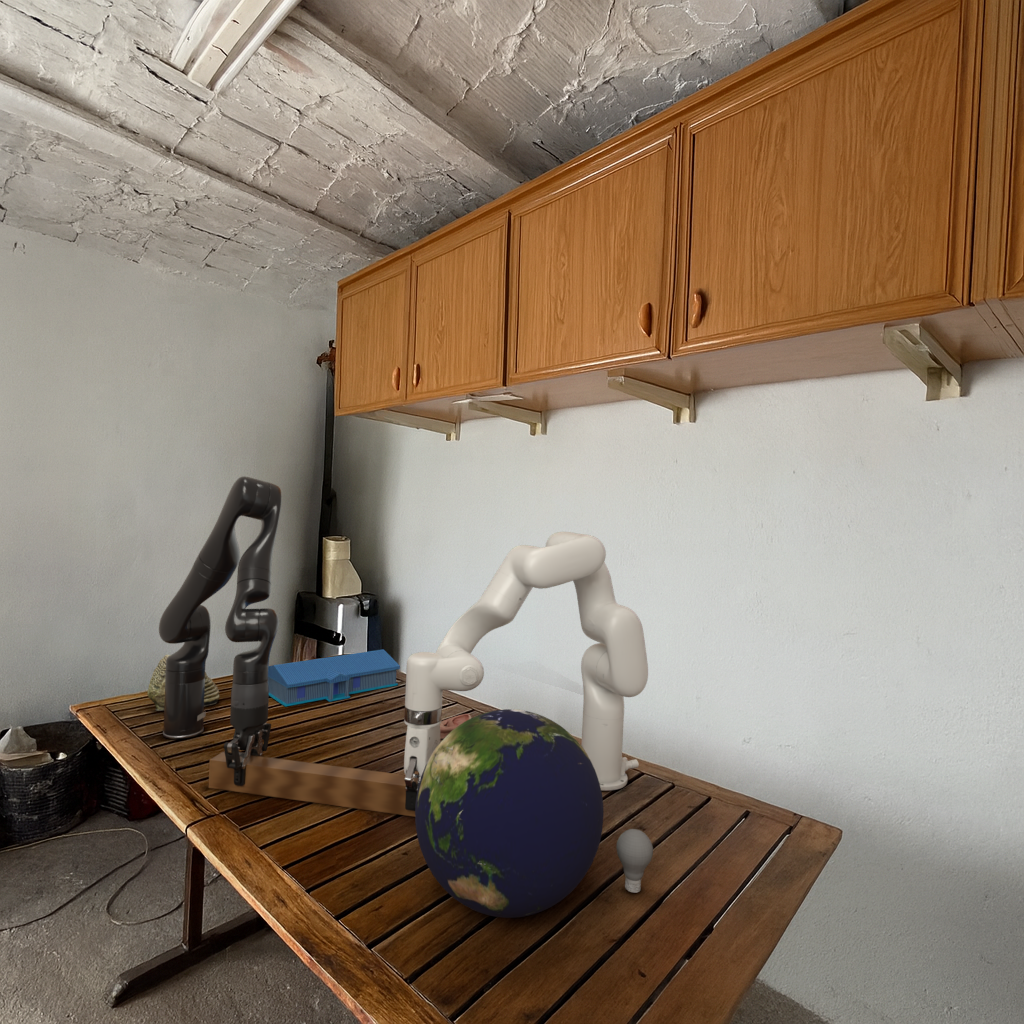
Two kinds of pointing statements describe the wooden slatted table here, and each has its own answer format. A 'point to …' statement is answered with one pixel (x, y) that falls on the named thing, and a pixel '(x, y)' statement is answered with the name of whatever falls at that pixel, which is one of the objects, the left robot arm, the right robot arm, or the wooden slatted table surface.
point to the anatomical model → (452, 724)
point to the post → (315, 783)
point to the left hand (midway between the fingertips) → (247, 779)
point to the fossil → (158, 687)
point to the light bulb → (634, 857)
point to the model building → (331, 677)
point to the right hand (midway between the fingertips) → (419, 800)
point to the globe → (509, 813)
